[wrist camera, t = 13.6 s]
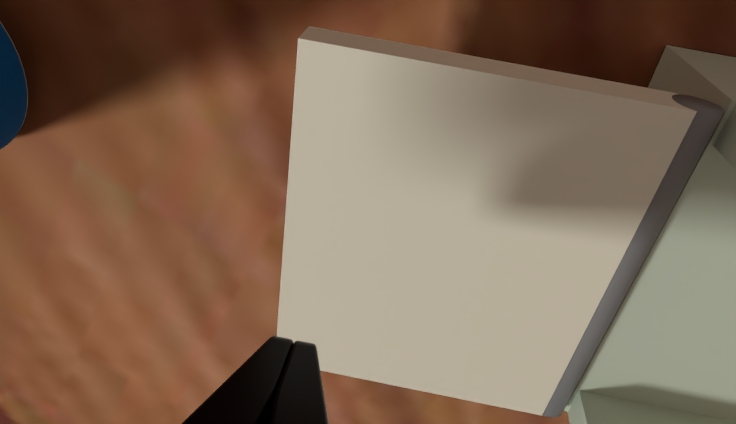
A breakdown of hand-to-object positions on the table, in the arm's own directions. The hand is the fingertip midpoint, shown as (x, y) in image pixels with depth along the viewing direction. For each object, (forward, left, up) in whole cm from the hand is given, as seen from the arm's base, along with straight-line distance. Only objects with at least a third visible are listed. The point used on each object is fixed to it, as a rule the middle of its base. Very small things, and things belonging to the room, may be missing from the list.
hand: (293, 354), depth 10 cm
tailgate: (0, -3, -5) cm, 6 cm away
